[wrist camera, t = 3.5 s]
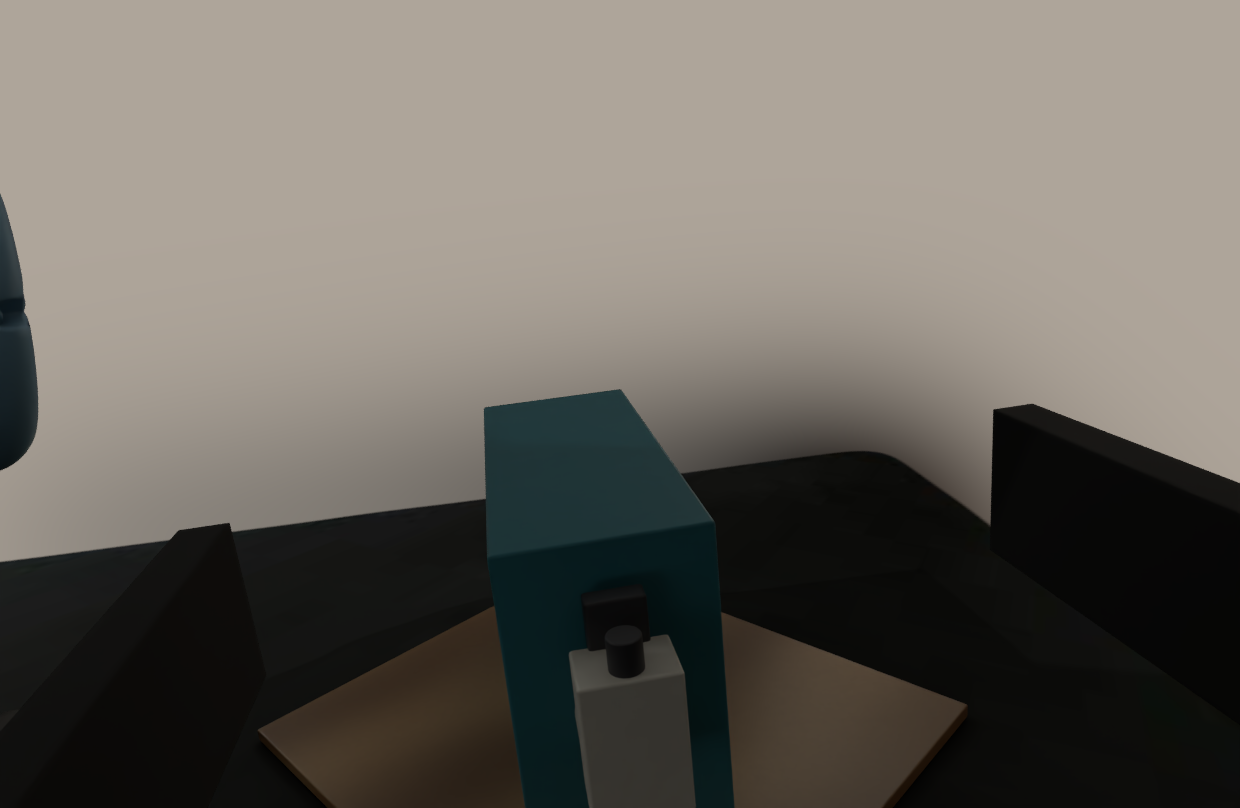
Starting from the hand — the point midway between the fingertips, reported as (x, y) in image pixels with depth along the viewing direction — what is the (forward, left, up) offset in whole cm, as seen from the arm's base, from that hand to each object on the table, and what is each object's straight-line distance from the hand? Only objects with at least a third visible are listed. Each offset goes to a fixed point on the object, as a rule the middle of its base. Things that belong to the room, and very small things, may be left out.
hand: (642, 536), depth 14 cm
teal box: (-10, +8, -13) cm, 18 cm away
